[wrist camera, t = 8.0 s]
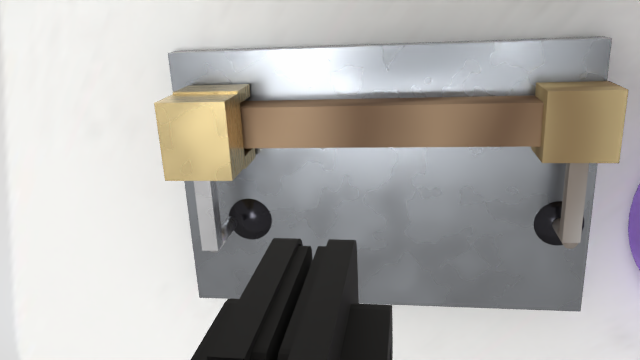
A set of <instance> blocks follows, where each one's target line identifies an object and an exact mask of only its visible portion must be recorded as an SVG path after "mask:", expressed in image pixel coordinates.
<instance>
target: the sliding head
mask: <svg viewBox="0 0 640 360" xmlns="http://www.w3.org/2000/svg"><path fill="white" fill-rule="evenodd" d="M248 97H250V87H249V84H230V85H188V86H186V87H184V88H181V89H179V90H177V91H175V92H173V95H171V96H168V97H166V98H164V99H162V100H160V101H157V102H155V103H154V105H155V112H156V119H157V126H158V134H159V141H160V148H161V155H162V162H163V169H164V176H165V181H194V189H195V197H196V205H197V213H198V221H199V229H200V237H201V245H202V251H210V252H212V253H216V252H218V251H219V250H220V249H221V247H222V246H223V245H224V243H225V242H226V240H227V239H228V238H229V236H230V235H231V233H232V232H233V231H234V229H235V228H236V226H237V224H238V222H237V219H236V218H234V217H232V216H230V217H227V218H226V219H225V221H224V222H223V223H222V224H221V220H220V211H219V202H218V193H217V183H216V181H233V180H234V179H235V177H236V176H237V175H238V174H239V173H240V172H241V171H242V170H243V169H246V167H247V166H248V165H249V164H250V163H251V162H252V161H253V160H254V159H255V148H244V144H243V134H242V123H241V112H240V103H241V102H242V101H244V100H245V99H247V98H248Z"/></svg>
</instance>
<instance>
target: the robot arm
mask: <svg viewBox="0 0 640 360" xmlns="http://www.w3.org/2000/svg"><path fill="white" fill-rule="evenodd" d="M191 360H392V305H378V304H359V298H358V263H357V243H356V240H339V239H329V240H328V242H327V245H326V246H318V247H317V250H316V253H315V255H314V258H312V248H311V246H303V244H302V240H301V239H296V238H274V239H273V240H272V241H271V243H270V245H269V247H268V249H267V250H266V252H265V254H264V256H263V257H262V259H261V261H260V263H259V265H258V266H257V268H256V270H255V272H254V274H253V275H252V277H251V279H250V281H249V282H248V284H247V286H246V288H245V290H244V291H243V293H242V295H241V297H240V299H234V298H231V299H228V300H227V301H226V302H225V303H224V305H223V307H222V308H221V310H220V312H219V313H218V315H217V317H216V318H215V320H214V322H213V323H212V325H211V327H210V328H209V330H208V332H207V333H206V335H205V337H204V338H203V340H202V342H201V343H200V345H199V347H198V348H197V350H196V352H195V353H194V355H193V357H192V358H191Z"/></svg>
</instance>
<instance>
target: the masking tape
mask: <svg viewBox="0 0 640 360" xmlns="http://www.w3.org/2000/svg"><path fill="white" fill-rule="evenodd" d="M628 232H629V242H630V247H631V251H632V255H633V257H634V260H635V262H636V264H637V266H638V268H639V270H640V184H639V186H638V188H637V191H636V193H635V195H634V198H633V202H632V205H631V209H630V215H629V226H628Z"/></svg>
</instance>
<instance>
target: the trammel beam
mask: <svg viewBox="0 0 640 360" xmlns="http://www.w3.org/2000/svg"><path fill="white" fill-rule="evenodd" d="M627 97H628V90H627V89H625V88H623V87H621V86H619V85H617V84H615V83H612V82H610V81H587V82H542V83H536V90H535V95H530V96H478V97H426V98H374V99H322V100H269V101H242V102H241V103H240V112H241V123H242V134H243V144H244V148H385V147H531V149H532V151H533V152H534V153H535V154H536V156H537V157H538V158H539V160H540V161H541V162H542V163H566V168H565V179H564V189H563V199H562V210H561V218H560V219H556V220H555V221H554V222H553V224H552V227H553V229H554V230H555V232H556V234H557V235H558V237H559V239H560V240H561V242H562V244H563V245H564V247H566V248H568V249H572V248H575V247H576V246H577V245H578V243H580V241H581V232H582V223H583V214H584V205H585V196H586V187H587V177H588V168H589V163H619V159H620V151H621V144H622V136H623V128H624V120H625V112H626V104H627Z"/></svg>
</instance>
